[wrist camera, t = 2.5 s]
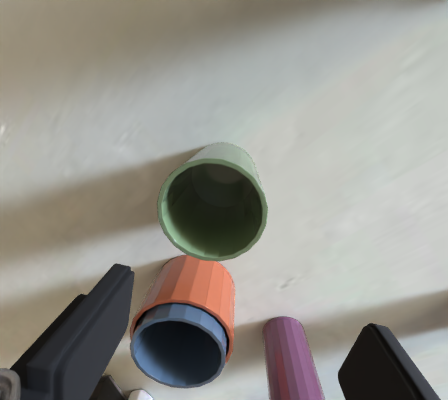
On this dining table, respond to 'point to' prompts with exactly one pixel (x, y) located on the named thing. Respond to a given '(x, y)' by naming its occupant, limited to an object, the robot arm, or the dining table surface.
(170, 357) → the stack
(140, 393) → the eye dropper bottle
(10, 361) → the dining table surface
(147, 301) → the stack bottom
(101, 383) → the portable cd player
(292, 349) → the plum cup
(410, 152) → the dining table surface
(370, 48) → the dining table surface
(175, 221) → the sage cup
